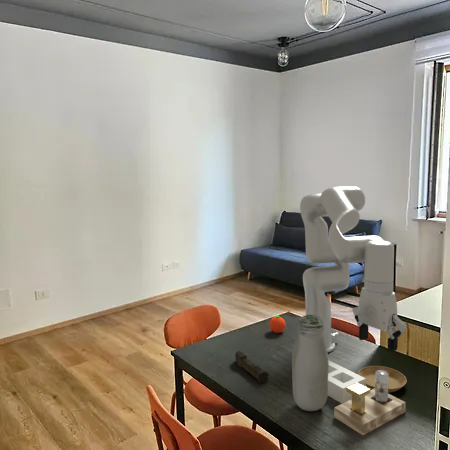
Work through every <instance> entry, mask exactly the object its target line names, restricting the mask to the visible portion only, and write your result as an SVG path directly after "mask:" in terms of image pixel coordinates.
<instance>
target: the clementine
mask: <svg viewBox="0 0 450 450" xmlns="http://www.w3.org/2000/svg"><path fill="white" fill-rule="evenodd" d="M286 325H287V323H286V320H285V319H284V318H283V317H281V316H280V315H275V316H274V317H272V318H271V319H270V321H269V325H268V326H269V329H270V330H271V331H272V332H273V333H275V334H281V333H282V332H284V331H285V329H286V327H287V326H286Z"/></svg>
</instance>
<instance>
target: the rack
mask: <svg viewBox="0 0 450 450" xmlns="http://www.w3.org/2000/svg"><path fill="white" fill-rule="evenodd" d="M328 362H329V366H328V396H327V397H330V398H332V399H333V400H334V401H337V402H338V403H339V404H343V403H345V402H347V401H349V400H351V399H352V394H350V393H348V392H347V387H349V386H351V385H353V384H355V383H359V384H361V385H363V386H365V387H367V386H366V378H364V377H362V376H360V375H358V373H355V372H353V371H352V370H349V369H347V368H345V367H344V366H341V365H339V364H337V363H335V362H334V361H331V360H329V359H328Z"/></svg>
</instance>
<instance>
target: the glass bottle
mask: <svg viewBox="0 0 450 450" xmlns="http://www.w3.org/2000/svg"><path fill="white" fill-rule="evenodd" d="M296 328H297V332H296V335H295V341H294V343H293V344H294V345H293V348H292V353H291V373H292V374H291V378H292V380H291V381H292V395H293V400H294V402H295V404H296V405H297V406H298V407H299V408H300V409H301V410H303V411H305V412H306V411H307V412H316V411H318V410H320V409H322V408H323V407H324V406H325V405H326V402H327V399H328V397H329V396H328V366H329V362H328V360H329V354H328V352H327V350H326V346H325V342H324V336H323V331H324V326H323V323H322V320H321V319H320V318H319V317H318V316H316V315H306V314H305V315H303V316H301V317H300V318H298V321H297V325H296Z"/></svg>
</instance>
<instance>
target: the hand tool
mask: <svg viewBox="0 0 450 450" xmlns="http://www.w3.org/2000/svg"><path fill="white" fill-rule="evenodd" d="M234 357H235V361H236V364H237V365H238V366H239V367H240V368H241V369H242V368H243V369H244V370H246V372H248V373H249V374H250V375H251V376H253V377H254V378H255V379H256V380H257V381H258V383H259V385H261V384H265V383H266V382H268V380H269V374H270V373H269V372H268V371H266V370H263V369H262V368H260V365H257V364H256V363H254V362H253V361H252V360H250V359H249V358H248V355H246V354H245V353H244V352H242V351H240V350H238V351H236V352H235V354H234Z"/></svg>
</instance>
